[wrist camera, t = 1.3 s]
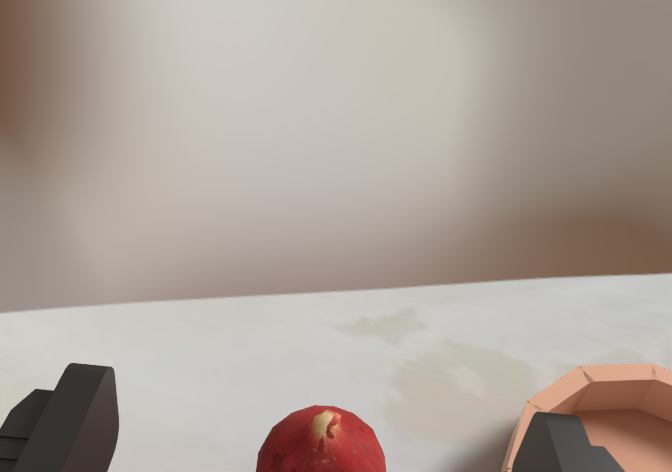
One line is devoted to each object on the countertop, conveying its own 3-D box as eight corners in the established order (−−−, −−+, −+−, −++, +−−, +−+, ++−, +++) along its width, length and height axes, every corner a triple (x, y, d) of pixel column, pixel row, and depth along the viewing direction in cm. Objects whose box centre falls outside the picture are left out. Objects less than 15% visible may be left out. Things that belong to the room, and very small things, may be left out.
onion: (380, 579, 29) (402, 495, 23) (251, 575, 29) (243, 489, 23) (375, 459, 33) (393, 364, 28) (263, 454, 33) (259, 359, 28)
